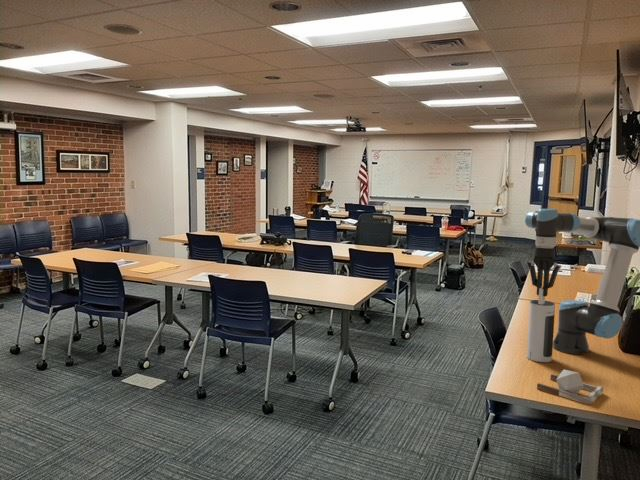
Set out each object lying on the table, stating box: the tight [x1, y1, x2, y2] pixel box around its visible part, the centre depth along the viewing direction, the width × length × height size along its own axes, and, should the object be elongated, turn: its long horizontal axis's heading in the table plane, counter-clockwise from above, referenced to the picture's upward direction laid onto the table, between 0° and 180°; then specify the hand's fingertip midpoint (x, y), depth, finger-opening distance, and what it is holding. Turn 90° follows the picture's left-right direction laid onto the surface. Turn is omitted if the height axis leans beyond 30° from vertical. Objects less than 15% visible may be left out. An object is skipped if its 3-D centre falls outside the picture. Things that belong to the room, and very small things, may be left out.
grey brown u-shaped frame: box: [536, 373, 604, 406], centre depth 184 cm, size 14×18×3 cm
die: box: [556, 369, 584, 395], centre depth 182 cm, size 8×9×10 cm
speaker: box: [526, 299, 556, 363], centre depth 217 cm, size 11×10×26 cm
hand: (541, 303), depth 202 cm, fingers closed
